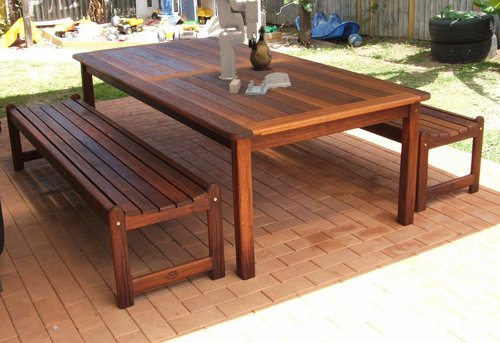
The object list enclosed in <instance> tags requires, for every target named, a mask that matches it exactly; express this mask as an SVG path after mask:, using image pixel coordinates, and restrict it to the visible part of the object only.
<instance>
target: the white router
mask: <svg viewBox="0 0 500 343" xmlns="http://www.w3.org/2000/svg"><path fill="white" fill-rule="evenodd" d="M264 80H266V86H268V90H270V88H272V89H278V88H277V87H283V88H288V87H287V86H291V87H292V83H291V81H290V77H289V74H288V73H286V72H272V73H269V74H266V75H265V76H264Z"/></svg>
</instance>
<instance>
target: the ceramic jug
mask: <svg viewBox="0 0 500 343" xmlns="http://www.w3.org/2000/svg"><path fill="white" fill-rule="evenodd" d="M265 33H266V30H265V26H264V25H260V27H259V29H257V34H259V35H258V36H259V37H258V40H257V41H256V42H257V50H251V52H250V56H249V62H250V64H251V66H252V67H253V70H254V71H266V70H267V69H268V67H269V66H270V65H271V63H272V59H273V56H272V52H271V49H270V47H269V45H268V44H267V42H266V41H265V36H264V35H265ZM265 69H266V70H265Z"/></svg>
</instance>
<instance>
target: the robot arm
mask: <svg viewBox="0 0 500 343" xmlns="http://www.w3.org/2000/svg"><path fill="white" fill-rule="evenodd" d="M228 1H229V2H228ZM228 1H227V0H214V3H215V6H216V9H217V17H218V24H219V27H220V28H221V29H226V30H223V31H220V32H219V33H218V43H219V52H220V73H221V74H220V75H219V76H218V79H219V80H222V81H232V80H233V79H238V78H239V76H238V75H236V52H235V50H234V48H233V47H232V46H234V45H242V44H244V43H245V41H246V39H247V43H248V49H251V51H252V50H257V42H258V41H257V39H258V25H257V24H258V23H259V1H258V0H228ZM231 8H232V9H231ZM232 10H234V11H235V12H233V13H232ZM240 12H245V23H246V34H245V25H244V19H243V15H242V14H241V13H240ZM227 29H229V30H227Z"/></svg>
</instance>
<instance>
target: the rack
mask: <svg viewBox="0 0 500 343" xmlns="http://www.w3.org/2000/svg"><path fill="white" fill-rule="evenodd" d="M268 90H269V89H268V86H266V80H262V83H261V84H260V85H254V79H253V80H250V82H249V83H248V84H247V89H246V91H245V93H244V94H245V95H249V96H253V95H254V96H266V95H267V93H268Z"/></svg>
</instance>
